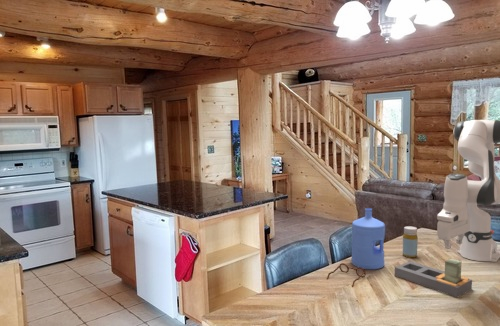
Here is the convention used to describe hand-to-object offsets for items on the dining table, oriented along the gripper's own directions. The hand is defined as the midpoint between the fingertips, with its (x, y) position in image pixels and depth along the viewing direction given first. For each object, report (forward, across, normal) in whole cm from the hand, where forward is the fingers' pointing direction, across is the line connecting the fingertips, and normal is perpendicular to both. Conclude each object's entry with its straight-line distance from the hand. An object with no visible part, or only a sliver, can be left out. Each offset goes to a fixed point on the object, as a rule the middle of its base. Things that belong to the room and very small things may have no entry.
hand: (453, 246), depth 160 cm
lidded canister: (+19, -22, -33) cm, 45 cm away
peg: (+18, 0, 0) cm, 19 cm away
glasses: (+19, +27, -34) cm, 47 cm away
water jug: (+19, +5, -39) cm, 44 cm away
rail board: (+18, 0, -9) cm, 20 cm away
